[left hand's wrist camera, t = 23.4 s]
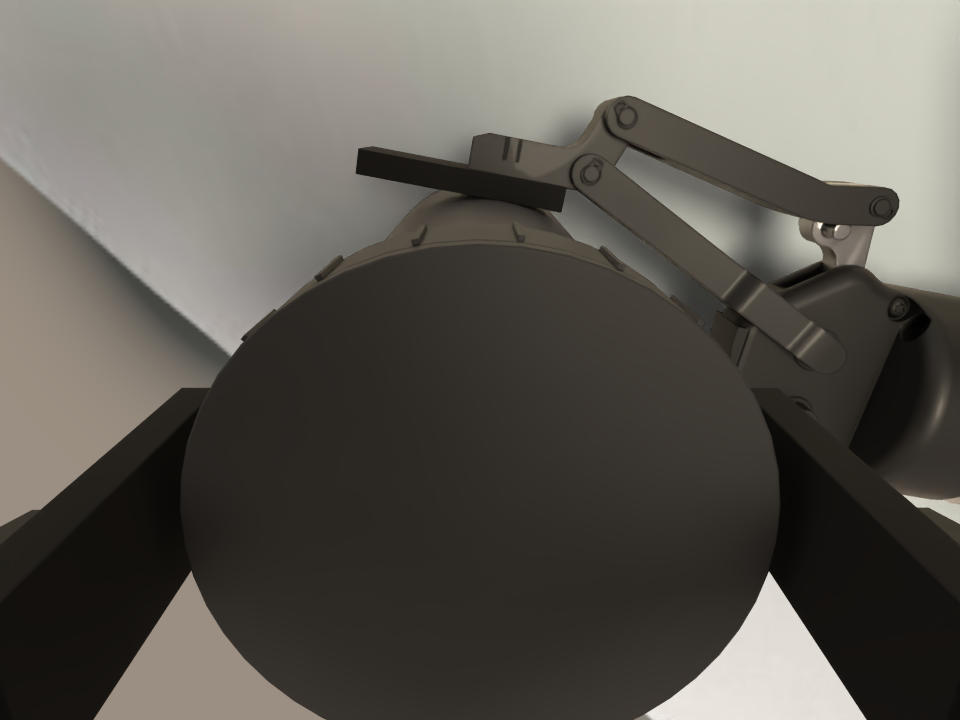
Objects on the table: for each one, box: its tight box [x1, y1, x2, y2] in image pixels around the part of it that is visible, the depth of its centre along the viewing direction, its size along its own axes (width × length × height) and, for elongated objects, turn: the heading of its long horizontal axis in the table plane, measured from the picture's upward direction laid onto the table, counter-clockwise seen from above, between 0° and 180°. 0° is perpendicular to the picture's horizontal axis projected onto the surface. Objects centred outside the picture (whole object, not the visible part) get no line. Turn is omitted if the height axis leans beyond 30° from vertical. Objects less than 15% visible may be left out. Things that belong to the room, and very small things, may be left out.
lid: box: [180, 221, 780, 720], centre depth 11 cm, size 10×10×2 cm
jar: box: [386, 190, 574, 240], centre depth 20 cm, size 8×8×18 cm
